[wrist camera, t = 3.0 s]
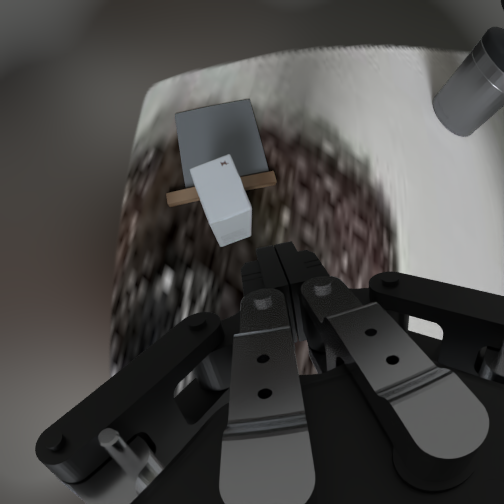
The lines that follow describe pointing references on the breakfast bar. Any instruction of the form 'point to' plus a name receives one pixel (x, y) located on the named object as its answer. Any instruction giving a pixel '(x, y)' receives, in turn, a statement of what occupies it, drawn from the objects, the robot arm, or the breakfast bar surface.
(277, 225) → the breakfast bar surface
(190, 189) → the walnut strip
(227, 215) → the skincare box
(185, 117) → the grey mat
